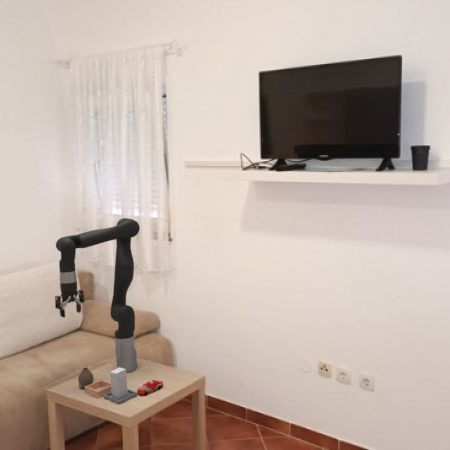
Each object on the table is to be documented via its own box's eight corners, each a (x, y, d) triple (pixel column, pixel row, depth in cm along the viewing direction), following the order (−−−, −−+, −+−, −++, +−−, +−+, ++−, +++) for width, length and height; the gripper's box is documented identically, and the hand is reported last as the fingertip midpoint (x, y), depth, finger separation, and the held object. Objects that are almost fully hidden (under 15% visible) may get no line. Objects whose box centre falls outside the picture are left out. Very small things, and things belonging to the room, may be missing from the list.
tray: (122, 389, 257) (121, 386, 257) (137, 395, 251) (137, 392, 250) (103, 398, 249) (103, 395, 249) (119, 404, 243) (118, 401, 243)
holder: (101, 385, 263) (101, 379, 262) (114, 390, 257) (114, 384, 256) (85, 392, 256) (84, 386, 255) (98, 398, 250) (97, 391, 249)
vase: (90, 390, 258) (88, 371, 257) (76, 389, 260) (74, 371, 259) (96, 383, 265) (95, 365, 264) (82, 383, 267) (81, 365, 265)
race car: (141, 397, 249) (141, 389, 249) (134, 394, 253) (134, 385, 252) (165, 387, 258) (164, 379, 258) (158, 384, 262) (157, 376, 262)
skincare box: (121, 392, 253) (119, 366, 252) (128, 394, 251) (126, 368, 249) (111, 397, 248) (109, 371, 247) (118, 399, 246) (116, 373, 244)
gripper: (76, 276, 268) (78, 309, 271) (50, 282, 258) (53, 317, 260) (86, 278, 264) (88, 312, 266) (59, 285, 253) (62, 320, 255)
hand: (70, 314), depth 263 cm, fingers open, 8 cm apart
